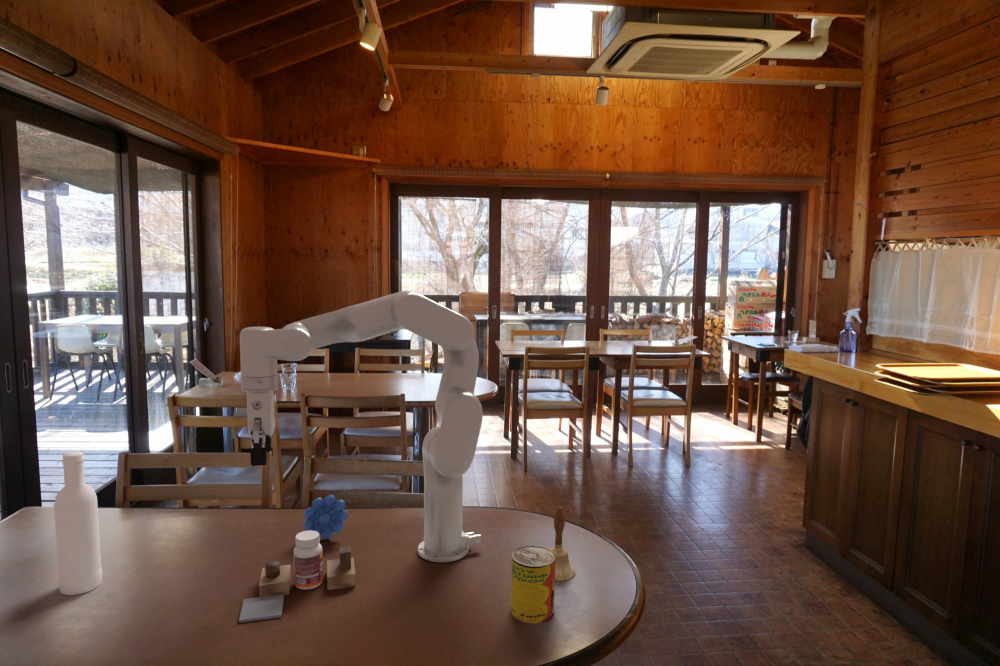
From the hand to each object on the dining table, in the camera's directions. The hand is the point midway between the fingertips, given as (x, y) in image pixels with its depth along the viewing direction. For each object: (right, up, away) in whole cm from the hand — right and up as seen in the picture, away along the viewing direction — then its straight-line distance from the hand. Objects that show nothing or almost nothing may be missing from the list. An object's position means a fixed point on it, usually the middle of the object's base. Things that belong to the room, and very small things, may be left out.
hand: (261, 458), depth 139 cm
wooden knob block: (+11, -28, 0) cm, 30 cm away
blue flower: (+8, -26, +23) cm, 36 cm away
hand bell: (+67, -28, +7) cm, 73 cm away
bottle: (-39, -28, -2) cm, 48 cm away
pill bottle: (+11, -28, 0) cm, 30 cm away
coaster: (+4, -29, -10) cm, 31 cm away
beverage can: (+60, -30, -9) cm, 68 cm away
